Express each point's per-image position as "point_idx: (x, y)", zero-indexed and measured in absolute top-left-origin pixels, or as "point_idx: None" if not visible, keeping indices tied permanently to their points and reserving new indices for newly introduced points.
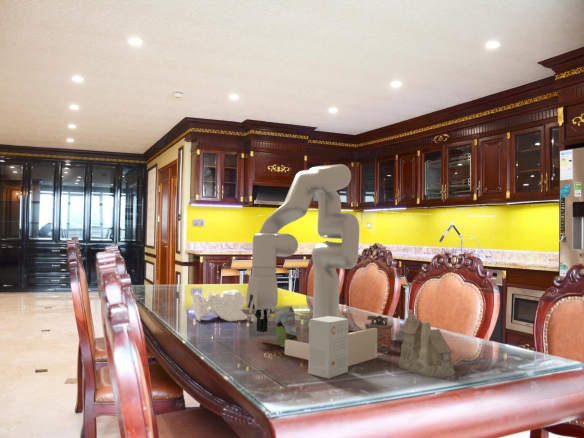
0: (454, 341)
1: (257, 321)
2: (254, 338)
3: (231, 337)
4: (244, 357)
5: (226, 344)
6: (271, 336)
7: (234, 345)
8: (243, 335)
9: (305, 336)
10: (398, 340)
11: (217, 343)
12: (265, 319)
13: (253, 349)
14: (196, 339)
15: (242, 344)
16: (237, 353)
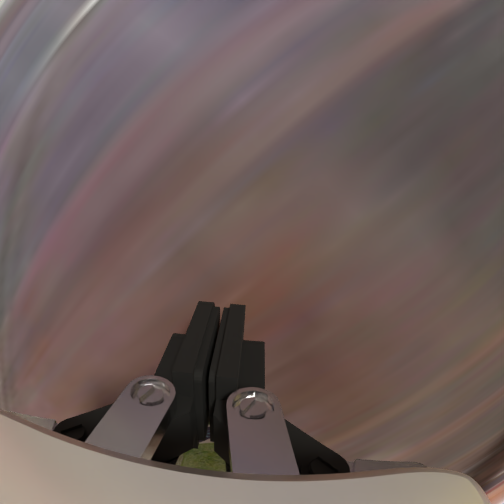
0: (496, 500)
1: (157, 375)
2: (272, 199)
3: (173, 56)
4: (10, 395)
5: (23, 212)
6: (413, 241)
7: (39, 260)
8: (301, 60)
9: (487, 359)
10: (488, 483)
11: (8, 161)
12: (210, 441)
13: (71, 373)
14: (16, 18)
15: (79, 275)
16: (4, 357)
